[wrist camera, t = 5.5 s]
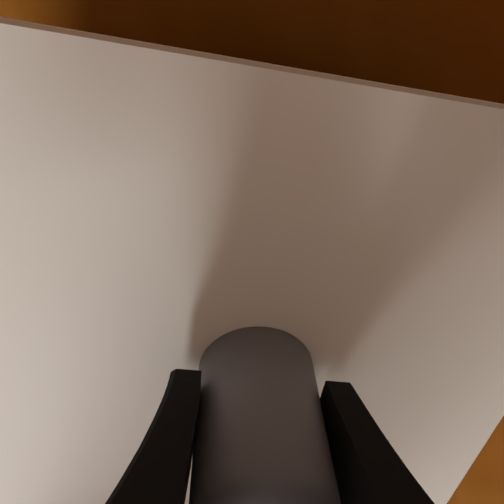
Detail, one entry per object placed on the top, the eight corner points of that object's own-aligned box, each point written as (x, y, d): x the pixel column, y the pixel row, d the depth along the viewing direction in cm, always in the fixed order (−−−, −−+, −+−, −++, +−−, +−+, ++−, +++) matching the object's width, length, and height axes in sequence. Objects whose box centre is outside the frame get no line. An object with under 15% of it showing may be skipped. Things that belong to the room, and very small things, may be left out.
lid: (418, 521, 18) (471, 679, 14) (-4, 496, 16) (-78, 669, 12) (659, 130, 10) (920, 237, 6) (-91, 0, 9) (-362, 39, 5)
